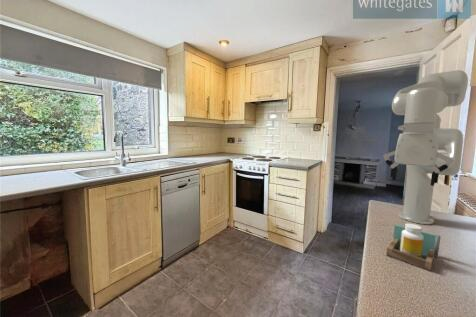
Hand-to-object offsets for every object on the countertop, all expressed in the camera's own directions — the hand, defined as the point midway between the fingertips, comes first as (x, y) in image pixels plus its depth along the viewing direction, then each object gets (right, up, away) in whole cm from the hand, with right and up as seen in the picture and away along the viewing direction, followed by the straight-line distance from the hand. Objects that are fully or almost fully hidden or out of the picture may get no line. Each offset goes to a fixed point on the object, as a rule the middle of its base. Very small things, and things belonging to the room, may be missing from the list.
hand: (412, 182), depth 68 cm
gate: (+2, -23, +2) cm, 23 cm away
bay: (-2, -24, -1) cm, 24 cm away
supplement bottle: (-2, -23, -1) cm, 23 cm away
